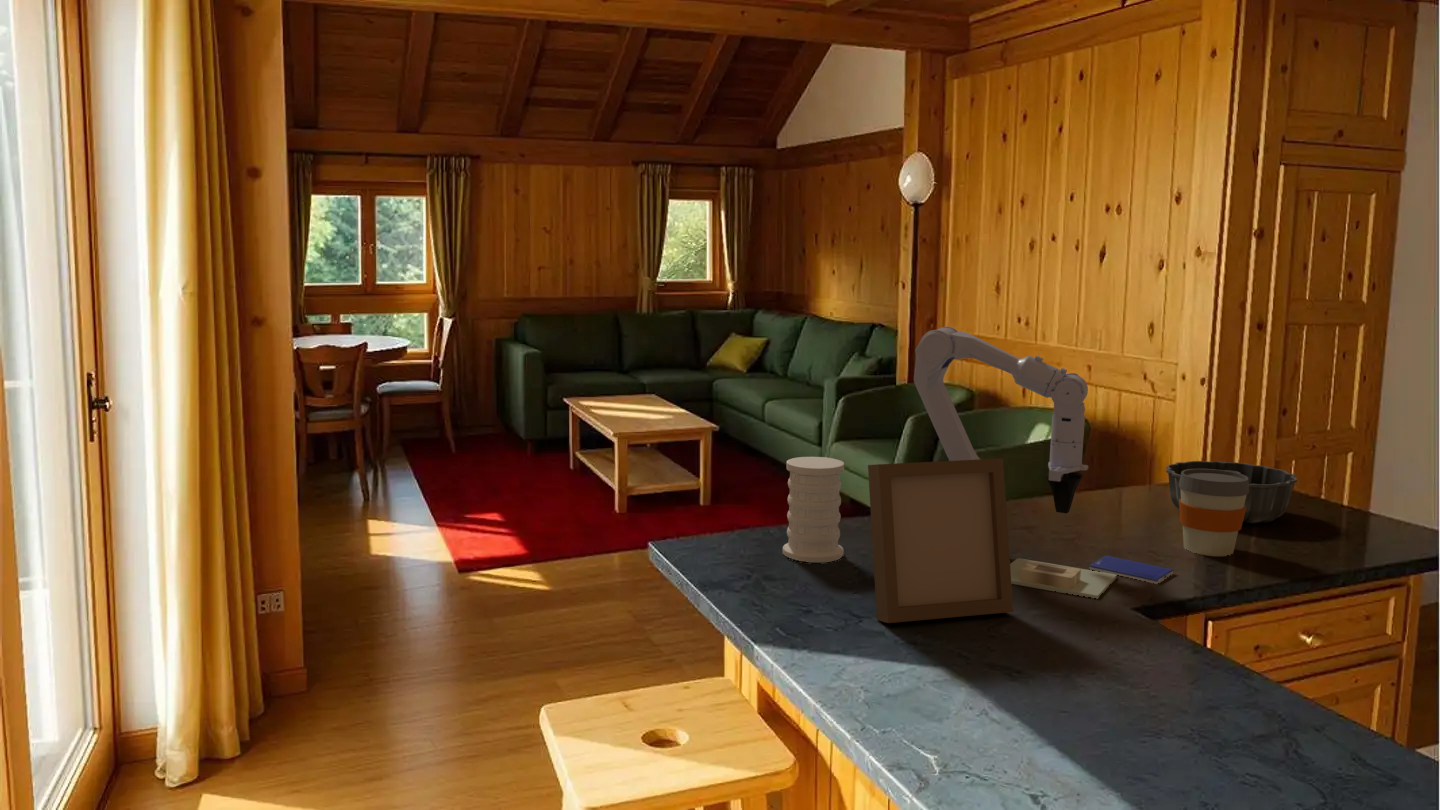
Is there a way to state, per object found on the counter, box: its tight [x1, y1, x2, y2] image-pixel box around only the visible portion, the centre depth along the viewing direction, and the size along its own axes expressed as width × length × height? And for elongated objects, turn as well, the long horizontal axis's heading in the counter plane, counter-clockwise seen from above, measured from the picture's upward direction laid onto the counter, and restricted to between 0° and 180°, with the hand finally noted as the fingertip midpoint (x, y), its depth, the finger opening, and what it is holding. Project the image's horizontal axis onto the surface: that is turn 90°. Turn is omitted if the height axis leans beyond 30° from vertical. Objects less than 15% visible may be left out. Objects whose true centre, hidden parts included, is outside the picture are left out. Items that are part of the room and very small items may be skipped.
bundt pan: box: [1165, 460, 1298, 524], centre depth 243 cm, size 26×26×10 cm
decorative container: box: [782, 456, 845, 562], centre depth 208 cm, size 12×12×18 cm
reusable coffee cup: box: [1178, 469, 1249, 557], centre depth 215 cm, size 13×13×15 cm
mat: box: [1010, 557, 1118, 600], centre depth 196 cm, size 18×14×1 cm
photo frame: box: [867, 458, 1014, 624], centre depth 179 cm, size 15×22×25 cm
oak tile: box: [1020, 560, 1082, 589], centre depth 194 cm, size 9×2×6 cm
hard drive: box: [1088, 555, 1174, 585], centre depth 201 cm, size 2×8×12 cm
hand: (1062, 512), depth 204 cm, fingers closed
